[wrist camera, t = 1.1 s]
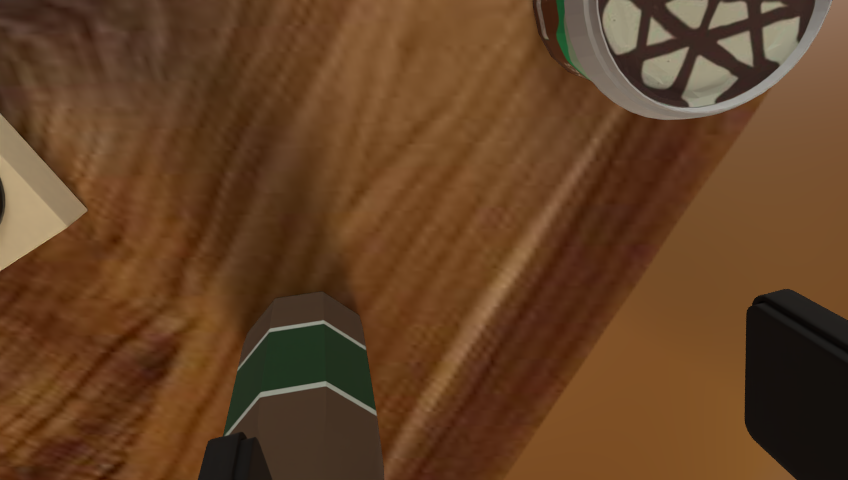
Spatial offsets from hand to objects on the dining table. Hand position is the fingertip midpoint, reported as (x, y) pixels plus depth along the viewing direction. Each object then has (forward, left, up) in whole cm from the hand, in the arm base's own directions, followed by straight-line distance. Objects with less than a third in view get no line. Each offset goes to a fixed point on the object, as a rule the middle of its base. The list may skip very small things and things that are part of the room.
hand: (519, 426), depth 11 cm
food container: (+2, +15, -26) cm, 30 cm away
